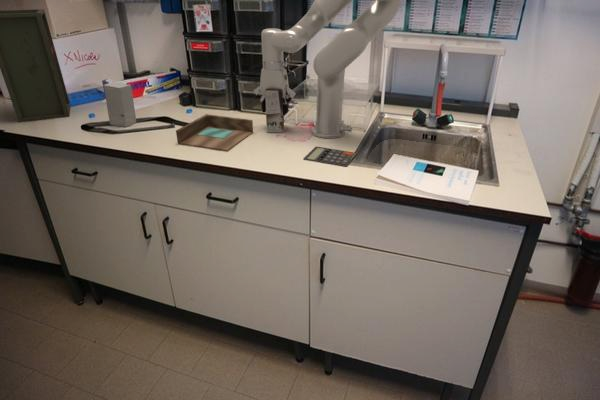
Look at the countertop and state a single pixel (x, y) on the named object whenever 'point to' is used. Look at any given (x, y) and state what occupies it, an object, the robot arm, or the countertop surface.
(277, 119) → the coffee box
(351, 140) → the countertop surface
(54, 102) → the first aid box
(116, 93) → the skincare box
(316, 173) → the countertop surface
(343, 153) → the calculator
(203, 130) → the tray
